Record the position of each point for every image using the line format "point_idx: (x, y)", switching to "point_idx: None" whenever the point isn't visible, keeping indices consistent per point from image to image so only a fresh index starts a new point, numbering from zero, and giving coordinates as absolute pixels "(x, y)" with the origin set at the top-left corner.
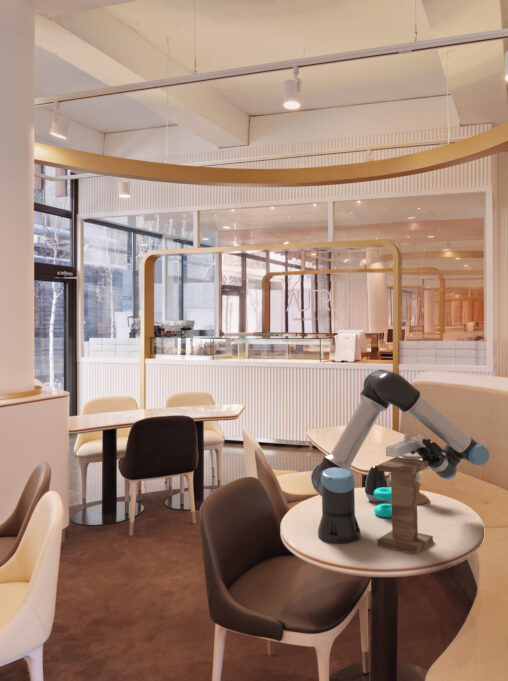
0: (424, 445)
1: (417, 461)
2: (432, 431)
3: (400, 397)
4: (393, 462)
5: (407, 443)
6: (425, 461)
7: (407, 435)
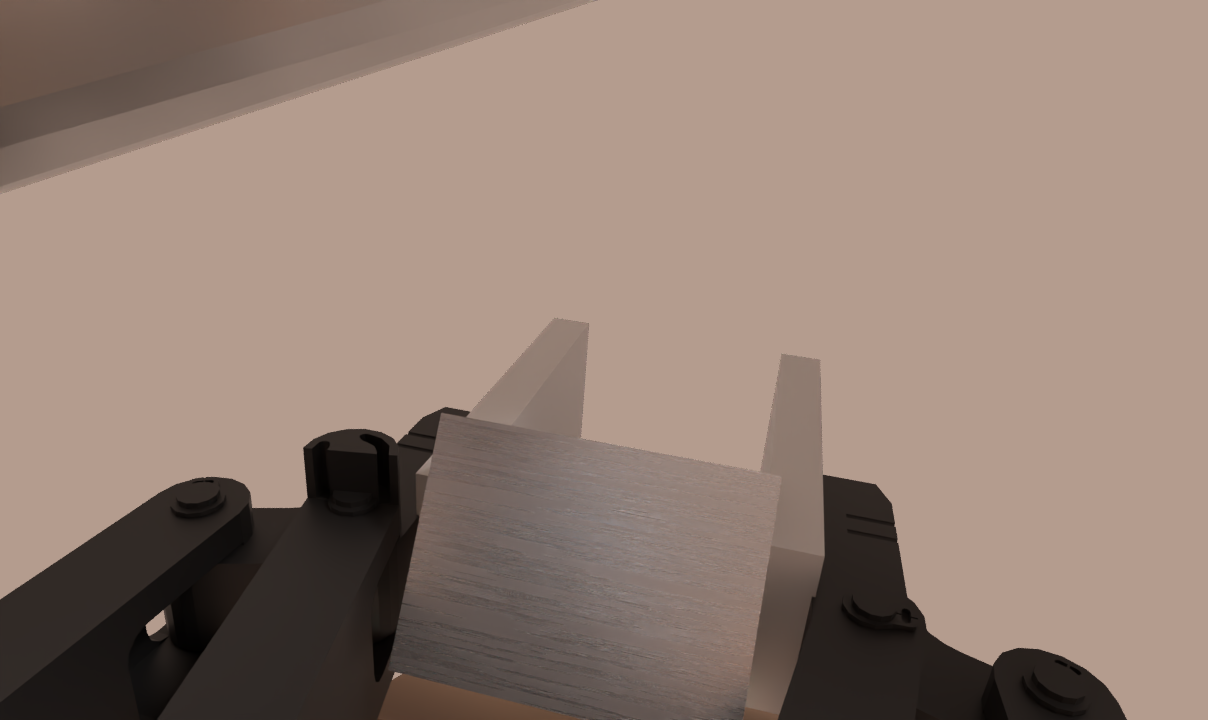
0: None
1: (499, 706)
2: (150, 143)
3: None
4: None
5: (640, 449)
6: (387, 701)
7: (773, 408)
